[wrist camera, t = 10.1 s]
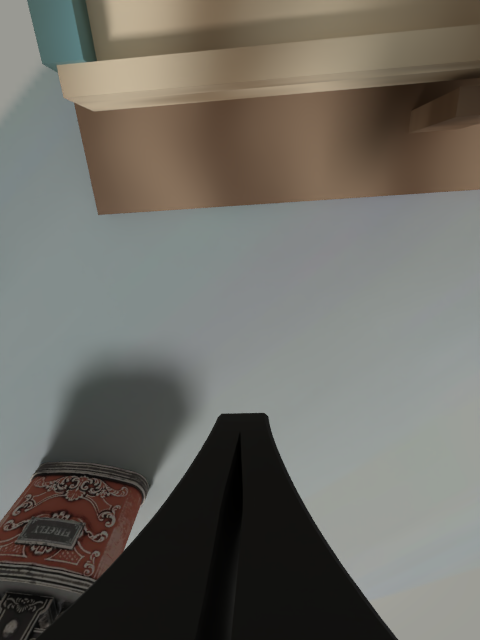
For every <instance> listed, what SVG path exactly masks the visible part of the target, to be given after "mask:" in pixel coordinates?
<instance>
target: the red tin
mask: <svg viewBox="0 0 480 640" xmlns="http://www.w3.org/2000/svg"><path fill="white" fill-rule="evenodd" d="M148 489H149V485H148V482H147V480H146V479H145V478H144V477H143V476H142V475H141V474H138V473H136V472H132V471H129V470H125V469H121V468H117V467H112V466H106V465H100V464H94V463H82V462H48V463H43V464H42V465H41V466H39V468H38V469H37V470H36V472H35V473H34V474H33V475H32V477H31V479H30V484H29V485H28V486H27V488H26V489H25V490H24V492H23V493H22V494H21V496H20V497H19V498H18V499H17V501H16V502H15V503H14V505H13V506H12V507H11V509H10V510H9V511H8V512H7V514H6V515H5V516H4V518H3V519H2V520H1V522H0V640H35V639H36V638H37V637H38V636H39V635H40V634H41V633H42V632H43V631H44V630H46V629H47V628H48V627H49V626H50V625H51V624H52V623H53V622H54V621H55V620H56V619H57V618H58V617H59V616H60V615H61V614H62V613H63V612H64V611H65V610H66V609H67V608H68V607H69V606H71V605H72V604H73V603H74V602H75V601H76V600H77V599H78V598H79V597H80V596H81V595H82V594H83V593H84V592H85V591H86V590H87V589H88V588H89V587H90V586H91V585H92V584H93V583H94V582H95V581H96V580H97V579H98V578H99V577H100V576H101V575H102V574H103V573H104V572H105V571H106V570H107V569H108V568H109V567H110V566H111V565H112V563H113V562H114V561H115V560H116V559H117V558H118V557H119V556H120V555H121V554H122V552H123V551H124V548H125V545H126V543H127V540H128V537H129V535H130V532H131V529H132V526H133V524H134V521H135V518H136V516H137V513H138V510H139V508H140V507H141V506H142V505H143V503H144V501H145V499H146V496H147V493H148Z"/></svg>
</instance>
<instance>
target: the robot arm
mask: <svg viewBox="0 0 480 640" xmlns="http://www.w3.org/2000/svg"><path fill="white" fill-rule="evenodd" d="M35 640H398V639H397V638H396V637H395V635H394V634H393V633H392V632H391V630H390V629H389V628H388V626H387V625H386V624H385V623H384V621H383V620H382V619H381V617H380V616H379V615H378V613H377V612H376V611H375V609H374V608H373V607H372V605H371V604H370V602H369V601H368V600H367V598H366V597H365V596H364V594H363V593H362V592H361V590H360V589H359V587H358V586H357V585H356V583H355V582H354V581H353V579H352V578H351V577H350V575H349V574H348V573H347V571H346V570H345V568H344V567H343V565H342V564H341V562H340V561H339V559H338V558H337V556H336V555H335V553H334V552H333V550H332V549H331V547H330V546H329V544H328V543H327V541H326V540H325V538H324V537H323V535H322V533H321V532H320V530H319V529H318V527H317V525H316V524H315V522H314V520H313V519H312V517H311V515H310V514H309V512H308V510H307V508H306V507H305V505H304V503H303V501H302V499H301V497H300V496H299V494H298V492H297V490H296V488H295V486H294V484H293V482H292V480H291V478H290V476H289V474H288V472H287V470H286V467H285V465H284V463H283V461H282V459H281V456H280V454H279V452H278V449H277V447H276V444H275V441H274V438H273V435H272V432H271V428H270V424H269V419H268V416H267V415H266V414H265V413H238V414H221V415H220V416H219V417H218V419H217V421H216V423H215V425H214V427H213V429H212V431H211V433H210V434H209V436H208V438H207V440H206V441H205V443H204V445H203V447H202V448H201V450H200V451H199V453H198V455H197V456H196V458H195V459H194V461H193V463H192V464H191V466H190V467H189V469H188V470H187V472H186V473H185V475H184V476H183V478H182V479H181V480H180V482H179V483H178V485H177V486H176V487H175V489H174V490H173V492H172V493H171V494H170V496H169V497H168V499H167V500H166V501H165V503H164V504H163V505H162V506H161V508H160V509H159V510H158V512H157V513H156V514H155V515H154V517H153V518H152V519H151V520H150V522H149V523H148V524H147V525H146V526H145V527H144V529H143V530H142V531H141V532H140V533H139V535H138V536H137V537H136V538H135V539H134V540H133V542H132V543H131V544H130V545H129V546H128V547H127V548H126V549H125V550H124V551H123V552H122V554H121V555H120V556H119V557H118V558H117V559H116V560H115V561H114V562H113V563H112V565H111V566H110V567H109V568H108V569H107V570H106V571H105V572H104V573H103V574H102V575H101V576H100V577H99V578H98V579H97V580H96V581H95V582H94V583H93V584H92V585H91V586H90V587H89V588H88V589H87V590H86V591H85V592H84V593H83V594H82V595H81V596H80V597H79V598H78V599H77V600H76V601H75V602H74V603H73V604H72V605H71V606H69V607H68V608H67V609H66V610H65V611H64V612H63V613H62V614H61V615H60V616H59V617H58V618H57V619H56V620H55V621H54V622H53V623H52V624H51V625H50V626H49V627H48V628H47V629H46V630H44V631H43V632H42V633H41V634H40V635H39V636H38V637H37V638H36V639H35Z"/></svg>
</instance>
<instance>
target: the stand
mask: <svg viewBox="0 0 480 640" xmlns="http://www.w3.org/2000/svg"><path fill="white" fill-rule="evenodd" d="M74 105H75V109H76V114H77V118H78V123H79V128H80V132H81V137H82V142H83V146H84V151H85V155H86V160H87V165H88V169H89V174H90V178H91V183H92V188H93V192H94V197H95V201H96V206H97V211H98V215H103V214H118V213H133V212H148V211H163V210H178V209H193V208H208V207H223V206H238V205H253V204H268V203H283V202H298V201H313V200H328V199H343V198H358V197H373V196H388V195H403V194H418V193H433V192H448V191H463V190H478V189H480V78H473V79H462V80H450V81H439V82H427V83H416V84H404V85H393V86H381V87H370V88H358V89H347V90H335V91H324V92H312V93H301V94H289V95H278V96H267V97H255V98H244V99H232V100H221V101H209V102H198V103H186V104H175V105H163V106H152V107H140V108H129V109H117V110H106V111H92V110H89V109H87V108H85V107H83V106H81V105H78V104H76V103H74Z"/></svg>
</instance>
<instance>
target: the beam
mask: <svg viewBox="0 0 480 640" xmlns="http://www.w3.org/2000/svg"><path fill="white" fill-rule="evenodd" d="M27 1H28V5H29V10H30V14H31V18H32V22H33V26H34V31H35V34H36V39H37V43H38V48H39V52H40V56H41V60H42V64H44V65H45V66H47V67H49V68H51V69H52V70H54V71H56V72H58V74H59V79H60V83H61V87H62V92H63V96H64V98H65V99H68V100H70V101H72V102H74V103H76V104H78V105H81V106H83V107H85V108H87V109H89V110H92V111H106V110H117V109H129V108H140V107H152V106H163V105H175V104H186V103H198V102H209V101H221V100H232V99H244V98H255V97H267V96H278V95H289V94H301V93H312V92H324V91H335V90H347V89H358V88H370V87H381V86H393V85H404V84H416V83H427V82H439V81H450V80H462V79H473V78H480V0H27Z"/></svg>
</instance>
